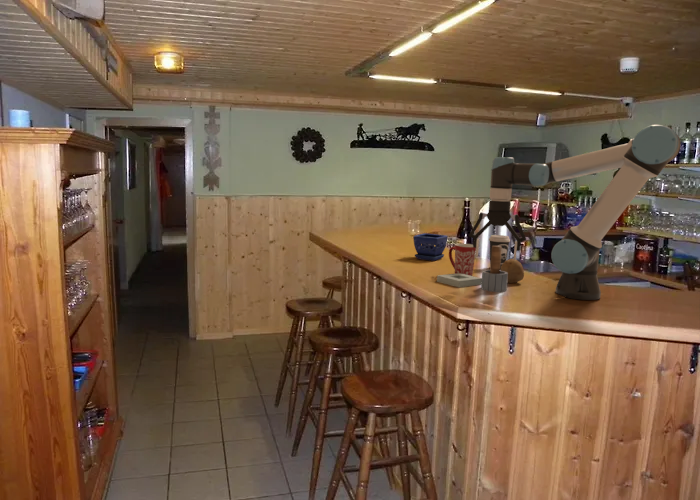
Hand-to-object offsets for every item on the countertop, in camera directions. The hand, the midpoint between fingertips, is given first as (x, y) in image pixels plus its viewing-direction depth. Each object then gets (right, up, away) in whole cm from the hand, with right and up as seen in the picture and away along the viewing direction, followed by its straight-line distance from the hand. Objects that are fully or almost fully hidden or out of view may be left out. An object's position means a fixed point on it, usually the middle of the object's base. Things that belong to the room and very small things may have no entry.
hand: (495, 258), depth 200 cm
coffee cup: (+14, -6, +50) cm, 52 cm away
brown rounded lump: (+11, -11, +16) cm, 22 cm away
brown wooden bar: (0, -12, +2) cm, 12 cm away
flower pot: (-14, -2, +71) cm, 73 cm away
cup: (0, -12, +2) cm, 12 cm away
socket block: (-11, -10, +11) cm, 19 cm away
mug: (-7, -8, +28) cm, 30 cm away
